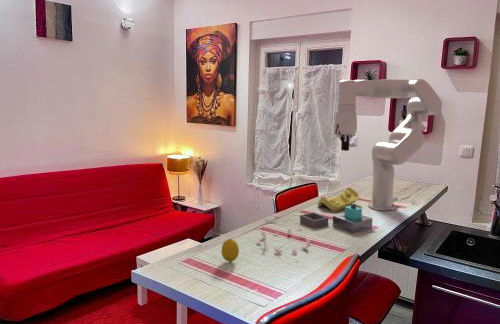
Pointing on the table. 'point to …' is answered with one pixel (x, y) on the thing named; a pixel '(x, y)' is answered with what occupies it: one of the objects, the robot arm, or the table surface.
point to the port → (352, 223)
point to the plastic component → (340, 200)
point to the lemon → (230, 250)
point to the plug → (353, 212)
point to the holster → (314, 220)
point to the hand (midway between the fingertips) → (345, 150)
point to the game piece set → (282, 246)
